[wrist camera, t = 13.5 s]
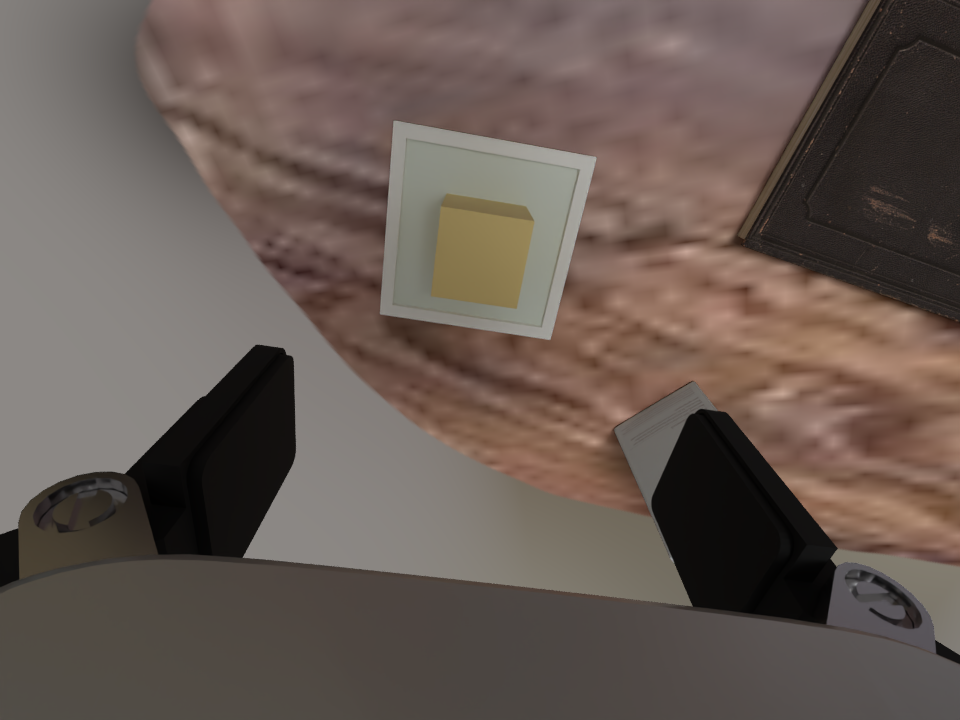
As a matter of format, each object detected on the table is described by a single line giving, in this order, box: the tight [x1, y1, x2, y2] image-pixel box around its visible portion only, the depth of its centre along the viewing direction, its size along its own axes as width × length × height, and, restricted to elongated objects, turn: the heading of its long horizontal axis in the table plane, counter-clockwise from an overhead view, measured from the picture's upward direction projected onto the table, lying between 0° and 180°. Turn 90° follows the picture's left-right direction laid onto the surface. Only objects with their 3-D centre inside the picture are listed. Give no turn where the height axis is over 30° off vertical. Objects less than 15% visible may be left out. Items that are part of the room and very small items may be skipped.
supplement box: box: [614, 382, 718, 564], centre depth 32 cm, size 7×7×13 cm
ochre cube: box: [431, 193, 535, 309], centre depth 28 cm, size 5×5×5 cm
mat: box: [380, 120, 597, 340], centre depth 30 cm, size 12×12×1 cm
